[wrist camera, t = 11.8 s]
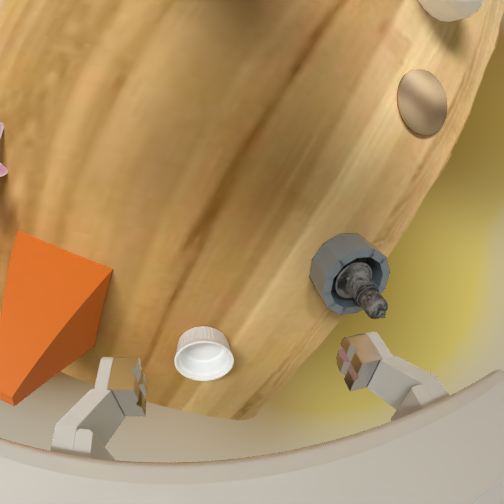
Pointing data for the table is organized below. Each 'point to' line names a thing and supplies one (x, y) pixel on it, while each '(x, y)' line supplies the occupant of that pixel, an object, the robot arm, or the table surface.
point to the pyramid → (46, 314)
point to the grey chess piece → (360, 288)
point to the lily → (0, 169)
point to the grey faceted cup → (335, 258)
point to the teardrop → (451, 8)
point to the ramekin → (203, 354)
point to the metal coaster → (422, 102)
